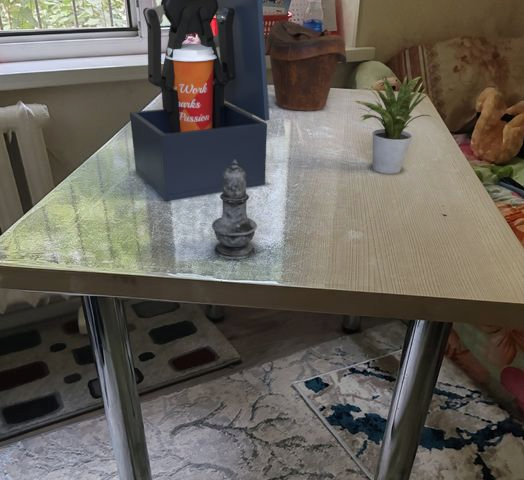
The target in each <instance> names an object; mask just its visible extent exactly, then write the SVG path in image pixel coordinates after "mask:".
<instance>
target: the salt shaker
mask: <svg viewBox="0 0 524 480" xmlns="http://www.w3.org/2000/svg"><path fill="white" fill-rule="evenodd" d="M232 164H233V165H232V166H231V167H228V168H226V169H225V170H224V172H223V191H222V193H221V194H219V198H220V200H221V201H222V213H221V217H218V218H217V219H214V220H213V222H212V223H211V228H212V230H213V231H214V232H213V233H214V235H215V237H216V240H217V241H219V243H218V244H216V246H215V247H214V253H215V254H216V255H217V256H219V257H220V258H223V259H226V260H243V259H247V258H250V257H251V256H253V254H254V253H255V247H254V246H253V245H252V244H251V243H250V242H251V241H252V240H253V238H254V236H255V233H256V230H257V229H258V224H257V222H256V221H255V220H254V219H252V218H250V217H248V213H247V201H248V200H249V198H250V196H249V194H248V193H247V188H246V172H245V171H244V169H242V168H241V167H238V166H237V165H236V164H237V162H236V160H235V159H234V160H233V162H232Z"/></svg>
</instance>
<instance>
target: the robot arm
mask: <svg viewBox="0 0 524 480" xmlns="http://www.w3.org/2000/svg"><path fill="white" fill-rule="evenodd" d="M142 13H143V18H144V21H145V23H146V27H147V30H146V31H147V80H148V82H149V83H150V84H151V85H153V86H155V87H157V88H160V90H161V101H162V109H164V110H165V111H166V112H169V125H170V131H171V132H173V133H175V132H180V118H179V101H178V92H177V90H174V89H172V88H173V84H174V79H175V72H174V64H173V60H170V59H167V58H165V57H164V59H163V64H162V26H161V25H162V24H163V16H165V17H166V19H167V21H168V22H169V23H170V25H169V29H168V40H167V46H166V50H165V55H167V56H168V53H167V48H171V49H172V52H171V54H170V55H169V57H171V58H173V50H174V49H181V47H182V44H184V42H185V39H186V36H187V35H188V36H189V35H191V34H196V35H197V38H198V39H199V41H200V44H201V45H203V46H206V47H212V50H213V51H214V55H215V56H216V57H217V58H216V59H214V74H213V82H214V84H213V117H212V128H219V127H220V107H223V106H224V87H225V86H227V83H228V81H230V80H232V81H233V80H234V79H235V77H236V74H235V59H234V44H233V30H232V25H233V20H234V16H235V10H234V9H233V8H230V7H226V6H221V5H218V2H217V0H161V1H160V4H159V5H157V6H154V7H150V8H149V7H145V8H143V10H142ZM215 14H217V20H218V21H219V25H218V26H219V40H220V52H221V64H220V60H219V57H218V53H217V50H216V46H215V43H214V39H213V38H214V36H215V35H214V32H213V29H212V25H211V24H212V22H213V20H214V17H216V15H215ZM221 65H222V67H221Z"/></svg>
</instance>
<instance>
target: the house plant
mask: <svg viewBox="0 0 524 480" xmlns="http://www.w3.org/2000/svg"><path fill="white" fill-rule="evenodd" d="M376 76H378V77H379V78H380V79H381V81H382V84H383V88H384V92H385V94H384V93H383V92H382V91H380V90H379V89H377V88H375V87H373V86H372V85H370V84H367V83H364V82H359V81H357V83H359V84H362V85H365V86H367V87H370V88H371V89H369V88H367V87H363V90H364V89H366V90H368V91H370V92H372V93H373V94H374V95H375V97H376V99H377V100H378V101H377V100H374V102H375V103H376V104H374V103H371V102H368V101H360V100H354V102H355V103H357V104H359V105H363V106H365V107H367V108H368V109H369V110H367V109H365V108H361V107H360V108H359V107H358V110H359V109H360V110H363V111H366V112H367V113H369V114H363V115H362V116H360V117H359V119H361V118H362V119H361V122H363V121H365V120H369V119H371V118H374V120H378V121H379V122H380V123H381V125H382V126H383V127H382V126H380V129H376V130H373V132H372V170H373V171H375V172H377V173H381V174H386V175H387V174H390V175H392V174H393V175H394V174H398V173H400V172H401V169H402V167H403V164H404V161H405V158H406V156H407V153H408V150H409V147H410V144H411V142H412V139H413V135H412V134H411V133H410V132H408V131H405V129H407V128H408V127H409V124H410V123H411V122H412V121H414V120H415V119H418V118H420V117H431V118H432V119H433V117H432V115H429V114H420V115H417V116H415V117H413V116H412V115H410V114H411V113H412V112H413V110H414V109H415V108H416V107H417V106H418V105H419V104H420V103H421V102H422V101H423V100H425V98H426V97H428V96H429V95H430V93H427V94H426V95H424V96H422V95H423V93H424V92H425V90H426V89H427V87H425V88H423V90H422V91H421V92H420V93H419V91H420V89H421V87H422V85H423V83H424V82H423V81H421V83H420V84H419V85H418V86H417V88H416V89H415V87H416V85H417V84H418V82H419V80H421V78H422V76H417V77H414V78H413V79H412V80H410V81H409V82H408V83H407V81H408V76H409V75H408V73H407V74H406V75H405V77H404V78H403V80H402V83H401V85H400V87H399V89H398V92H397V96H396V95H395V91H394V88H393V86H392V84H391V83H390V81H389V80H388V79H387V77H386V76H384V77H383V76H381V75H380V74H378V73H376ZM372 89H373V90H374V91H375V92H376V93H377V94H376V93H375V92H374V91H373V90H372ZM414 89H415V91H414V93H413V90H414ZM418 93H419V94H418ZM417 94H418V95H417ZM377 95H378V96H377ZM421 96H422V97H421ZM415 97H416V98H415ZM380 99H381V101H382V103H383V106H384V107H383V106H382V103H381V101H380ZM414 99H415V100H414ZM413 100H414V101H413ZM370 111H373V112H376V113H377V114H379V115H380V116H381V117H380V116H377V115H374V114H370ZM412 117H413V118H412ZM379 122H377V123H378V125H380V123H379Z"/></svg>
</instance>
